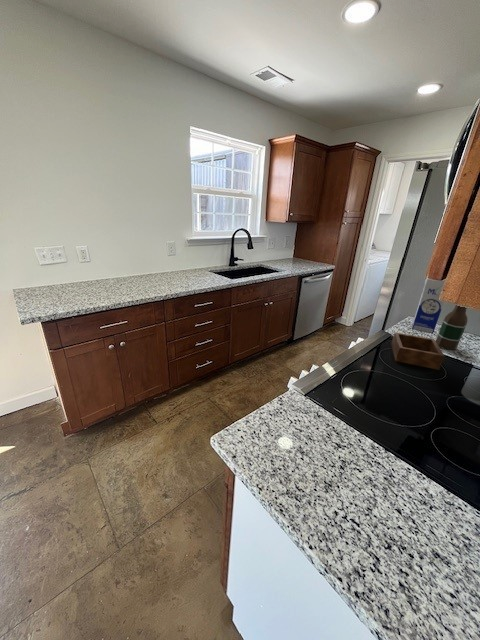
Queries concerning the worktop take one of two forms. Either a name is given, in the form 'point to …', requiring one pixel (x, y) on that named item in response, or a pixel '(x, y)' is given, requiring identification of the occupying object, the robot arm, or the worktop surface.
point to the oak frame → (417, 350)
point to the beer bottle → (452, 328)
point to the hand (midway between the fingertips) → (433, 290)
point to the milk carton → (428, 308)
